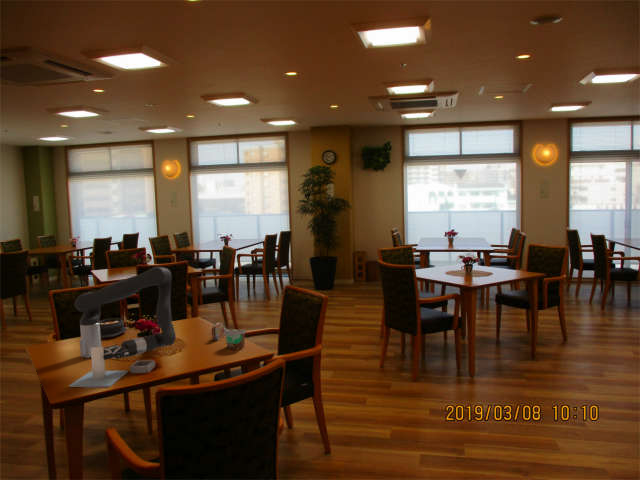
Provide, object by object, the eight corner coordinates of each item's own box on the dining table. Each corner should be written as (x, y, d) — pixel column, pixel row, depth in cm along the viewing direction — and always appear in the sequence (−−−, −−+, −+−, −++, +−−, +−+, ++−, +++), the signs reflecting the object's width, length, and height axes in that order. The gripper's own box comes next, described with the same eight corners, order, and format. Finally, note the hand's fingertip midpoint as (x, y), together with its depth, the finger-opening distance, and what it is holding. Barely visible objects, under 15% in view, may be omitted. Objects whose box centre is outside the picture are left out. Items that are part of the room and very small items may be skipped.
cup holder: (129, 373, 231) (129, 366, 231) (137, 366, 240) (137, 360, 239) (148, 372, 230) (147, 366, 230) (155, 366, 239) (155, 360, 239)
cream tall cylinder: (90, 378, 223) (88, 348, 222) (101, 374, 228) (98, 345, 226) (97, 380, 221) (94, 350, 219) (108, 376, 225) (105, 346, 224)
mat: (69, 387, 216) (68, 385, 216) (90, 372, 234) (90, 371, 233) (109, 387, 214) (108, 385, 214) (127, 372, 232) (127, 370, 232)
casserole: (122, 338, 290) (121, 324, 289) (88, 341, 287) (87, 327, 286) (130, 328, 315) (129, 315, 314) (99, 330, 311) (98, 317, 310)
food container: (220, 349, 262) (219, 330, 262) (226, 345, 268) (225, 327, 267) (240, 351, 258) (239, 332, 257) (246, 347, 263) (245, 329, 263)
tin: (216, 341, 276) (215, 327, 276) (211, 341, 277) (210, 326, 276) (226, 334, 291) (225, 320, 290) (221, 334, 292) (220, 320, 291)
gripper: (126, 336, 240) (92, 344, 228) (140, 341, 230) (105, 350, 219) (128, 351, 241) (93, 360, 229) (141, 357, 231) (107, 367, 219)
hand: (99, 355), depth 224 cm, fingers open, 8 cm apart
